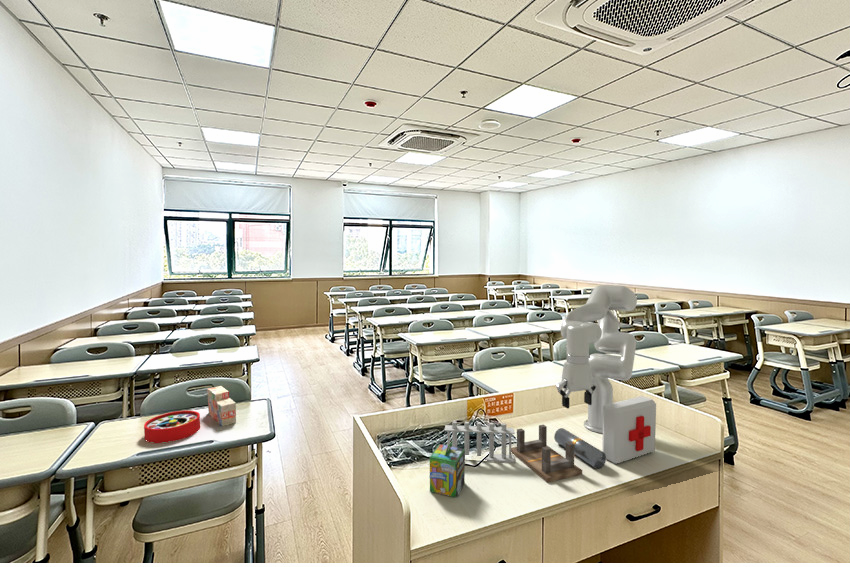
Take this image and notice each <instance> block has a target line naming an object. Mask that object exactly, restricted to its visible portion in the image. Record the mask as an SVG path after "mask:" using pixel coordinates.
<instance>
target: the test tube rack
mask: <svg viewBox="0 0 850 567" xmlns="http://www.w3.org/2000/svg"><path fill="white" fill-rule="evenodd" d="M463 424H464V425H458V422H457V421H456V420H453V421H452V423H451V424H445V425H444V426H445V427H444V430H443V431H444V432H447V446H448V445H449V444H450V442H451V441H452V445H451V447H456V448H458V432H461V433H462V432H463V433H464V449H465V455H469V453H470V433H476V453H477V456H481V454H483V453H482V451H483V450H482V446H483V445H482V442H483V440H482V433H485V434H488V454H489V456H488V457H487V458H486V459H485V460H487V461H494V462H493V463H504V462H507V464H508V463H509V464H515V463H516V460H515V455H513V454H512V453H511V448H512V435H515V434H516V433H515V428H514V427H508V426H507V423H505V422H502V423H501V426H495V423H494V422H489V423H488V426H482V425H483V424H482V422H481V421H477V422H476V426H475V425H470V422H469V421H464V423H463ZM450 433H451V434H452V435H451V434H450ZM495 434H501V454H500V453H498V454H497V453H495ZM507 434H508V454H507ZM450 436H451V437H452V439H451V437H450ZM450 439H451V440H450Z"/></svg>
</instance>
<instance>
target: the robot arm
mask: <svg viewBox="0 0 850 567" xmlns="http://www.w3.org/2000/svg"><path fill="white" fill-rule="evenodd" d="M637 302H638V299H637V296H636V293H635V292H634V291H633V290H632V289H630V288H629V287H627V286H625V285H613V284H612V285H610V284H609V285H608V284H605V285H604V284H600V285H597V286H595V287H594V288H593V289H592V291H591V293H590V295H589V297H588V299H587V300H586V303H584V304H583V305H580V306H578V307H576V308H574V309H572V310H571V311H569V312H568V313H567V314H566V316H565V317H564V320H563V321H562V323H561V327H560V335H561V337H562V338H563V339H564V340H566V361H565V362H563V367H562V371H561V372H562V374H561V381H560V382H559V383H557V384H555V386H556V387H555V388H556V389H557V392H558V393H559V394H560V396H561V404H562V407H563V408H566V409H570V397H569V396H570V394H571V393H573V392H583V391H584V393H583V394H584V395H583V401H584V403H585V404H587V419H586V420H584V422H583V426H584V427H585V428H586V429H587V430H589V431H592V432H594V433H599V434H603V406H605V405H606V404H610V403H614V401H613V400H614V399H613V398H614V397H613V395H614V387H613V384H612V383H611V381H610V380H611V379H613V380H619V381H628V380H630V379H631V378H632V376H633V375H632V374H633V369H634V363H635V356H636V348H637V344H636V337H635V336H634V335H633V334H631V333H630V332H621V331H619V329H620V328H619V327H620V321H619V319H618V317H617V316H616V315H615V314H614V312H612V311H620V312H621V311H623V312H631V311H634V310H635V308H636V307H637V304H638V303H637ZM595 321H597V323H595ZM590 344H593V345H594V348H595V350H596V351H598V352H599V353H592V354H590V352H589V351H590ZM600 352H601V353H600ZM609 379H610V380H609Z"/></svg>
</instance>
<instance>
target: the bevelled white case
mask: <svg viewBox="0 0 850 567" xmlns="http://www.w3.org/2000/svg"><path fill="white" fill-rule="evenodd" d="M656 422H657V403H656V402H655V400H654V399H652V398H650V397H646V396H644V395H641V396H636V397H632V398H628V399H624V400H619V401H616V402H614V401H613V403H610V404H606V405H605V406H603V433H602V449H601V451H602V452H604V453H605V455H606V461H609V462H611V463H612V464H614V465H617V463H618V464H620V463H624V462H626V461H630V460H632V458H633V459H635V457H636V458H638V456H639V457H642V456H645V455H647V453H648V454H650V452H651V453H653V452H655V451H656V432H657V431H656V428H657V427H656V425H657V424H656ZM644 454H645V455H644ZM641 455H642V456H641ZM623 461H624V462H623Z"/></svg>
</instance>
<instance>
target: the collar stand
mask: <svg viewBox="0 0 850 567" xmlns="http://www.w3.org/2000/svg"><path fill="white" fill-rule="evenodd" d="M547 430H548V428H547V426H546V425H545V424H539V425H538V439H535V440H530V441H525V439H526V438H525V436H526V434H525V431H526V430H525V429H523V428H517V429H516V446H513V447H512V446H511V452H512V453H511V455H513V454H514V457H516V458H517V459H518V460H519V461H520V462H522V464H524V465H525V466H526V467H528V469H530V470H531V471H533V473H535V474H536V475H537V476H538V477H540V478H541V479H542V480H543V481H544V482H545V483H547V484H548V483H551V482H555V481H560V480H565V479H570V478H573V477H578V476H581V475H583V469H582V468H580V467H579V466H577V465H576V464H575V454H574V443H572V442H566V448H565V454H564V455H565V456H563V455H562V454H560V453H559V452H557V451H556V450H555V449H553V448H552V447H550V446H549V445H547V442H548V440H547V436H548V434H547V433H548V432H547Z"/></svg>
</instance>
